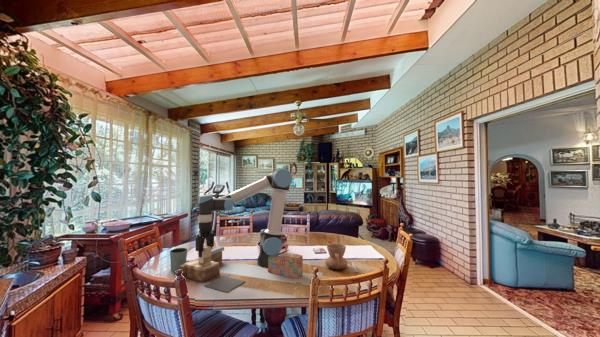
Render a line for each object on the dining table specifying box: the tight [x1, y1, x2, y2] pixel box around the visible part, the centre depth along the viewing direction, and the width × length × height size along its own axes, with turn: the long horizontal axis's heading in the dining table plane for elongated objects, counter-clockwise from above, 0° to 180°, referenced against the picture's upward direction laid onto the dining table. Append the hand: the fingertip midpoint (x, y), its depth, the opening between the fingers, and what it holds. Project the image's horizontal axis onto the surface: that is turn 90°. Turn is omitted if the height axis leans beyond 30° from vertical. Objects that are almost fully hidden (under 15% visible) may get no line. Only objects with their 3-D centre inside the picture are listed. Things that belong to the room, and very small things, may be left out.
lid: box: [183, 244, 220, 271], centre depth 145 cm, size 17×11×12 cm, turn 64°
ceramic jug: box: [324, 242, 349, 271], centre depth 159 cm, size 18×14×14 cm
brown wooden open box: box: [179, 251, 223, 283], centre depth 150 cm, size 18×31×8 cm, turn 154°
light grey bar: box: [211, 245, 225, 255], centre depth 161 cm, size 3×17×2 cm, turn 154°
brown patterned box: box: [267, 251, 304, 280], centre depth 149 cm, size 21×6×12 cm, turn 61°
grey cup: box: [169, 247, 188, 272], centre depth 155 cm, size 10×10×12 cm
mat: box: [204, 275, 246, 294], centre depth 133 cm, size 16×14×1 cm
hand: (204, 261), depth 143 cm, fingers closed on lid, 4 cm apart
